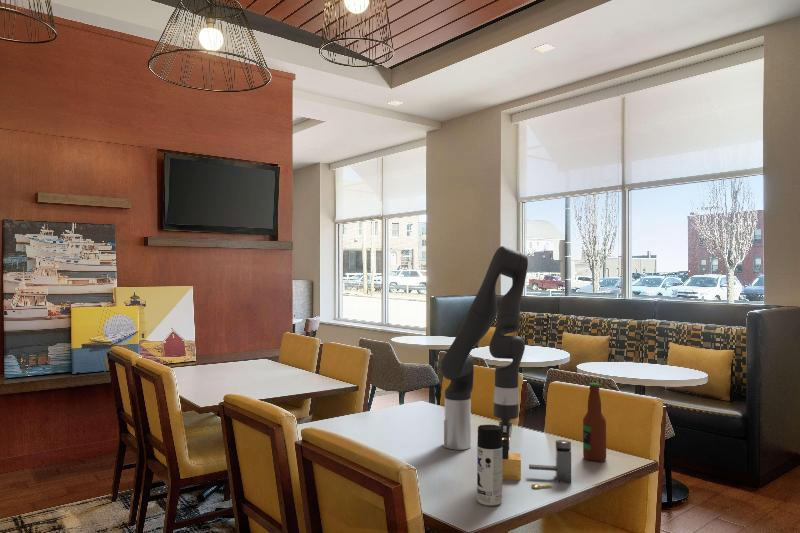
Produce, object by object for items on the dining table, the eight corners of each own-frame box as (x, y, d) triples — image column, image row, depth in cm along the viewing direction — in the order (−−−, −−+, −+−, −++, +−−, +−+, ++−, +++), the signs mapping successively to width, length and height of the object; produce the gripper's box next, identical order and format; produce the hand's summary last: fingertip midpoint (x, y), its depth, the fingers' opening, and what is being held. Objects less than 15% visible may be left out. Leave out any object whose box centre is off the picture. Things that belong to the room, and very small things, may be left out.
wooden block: (497, 478, 173) (497, 458, 173) (497, 471, 179) (497, 452, 179) (520, 480, 172) (520, 460, 172) (520, 473, 178) (520, 453, 178)
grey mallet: (529, 480, 171) (529, 442, 172) (528, 473, 177) (528, 437, 178) (572, 482, 169) (571, 445, 169) (569, 476, 175) (569, 439, 175)
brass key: (533, 489, 164) (533, 487, 164) (530, 486, 166) (530, 484, 166) (552, 488, 165) (552, 486, 165) (549, 485, 167) (549, 483, 167)
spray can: (474, 497, 158) (474, 424, 158) (499, 496, 158) (498, 423, 159) (480, 507, 151) (480, 430, 152) (505, 506, 152) (505, 430, 152)
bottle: (589, 454, 197) (589, 380, 197) (610, 458, 192) (609, 383, 192) (579, 458, 192) (578, 383, 192) (599, 463, 187) (599, 386, 187)
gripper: (518, 407, 168) (517, 463, 168) (519, 397, 182) (518, 448, 182) (492, 405, 169) (491, 460, 169) (494, 395, 183) (494, 446, 183)
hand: (505, 454), depth 175 cm, fingers open, 8 cm apart
